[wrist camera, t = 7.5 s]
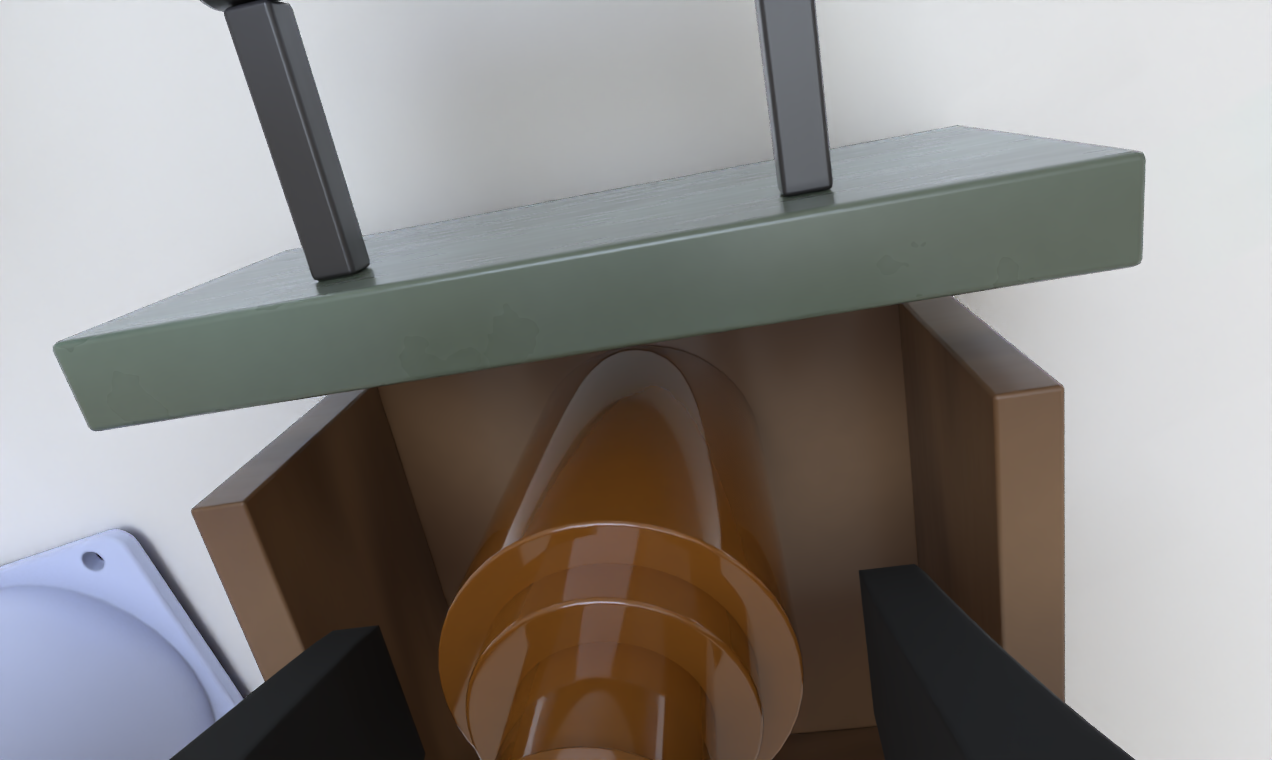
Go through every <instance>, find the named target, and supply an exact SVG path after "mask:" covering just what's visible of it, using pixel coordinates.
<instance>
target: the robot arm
mask: <svg viewBox="0 0 1272 760" xmlns="http://www.w3.org/2000/svg"><path fill="white" fill-rule="evenodd" d="M96 553H97V554H98V555H99V556H101V557H102V558H103V560H102V559H100V558H99V557H98V556H97V555H96ZM859 579H860V588H861V597H862V607H863V616H864V625H865V635H866V644H867V653H868V663H869V672H870V682H871V691H872V700H873V710H874V716H875V720H876V724H877V728H878V732H879V736H880V741H881V745H882V749H883V753H884V757H885V760H1135V759H1134V758H1132V757H1131V756H1130V755H1129V754H1127V753H1126V752H1125V751H1124V750H1122V749H1121V748H1120V747H1118V746H1117V745H1116V744H1115V743H1113V742H1112V741H1111V740H1110V739H1108V738H1107V737H1106V736H1105V735H1103V734H1102V733H1101V732H1100V731H1098V730H1097V729H1096V728H1094V727H1093V726H1092V725H1091V724H1090V723H1088V722H1087V721H1086V720H1085V719H1084V718H1082V717H1081V716H1080V715H1079V714H1078V713H1076V712H1075V711H1074V710H1073V709H1072V708H1070V707H1069V706H1068V705H1067V704H1066V703H1064V702H1063V701H1062V700H1061V699H1060V698H1059V697H1057V696H1056V695H1055V694H1054V693H1053V692H1052V691H1051V690H1049V689H1048V688H1047V687H1046V686H1045V685H1044V684H1043V683H1041V682H1040V681H1039V680H1038V679H1037V678H1036V677H1035V676H1033V675H1032V674H1031V673H1030V672H1029V671H1028V670H1027V669H1025V668H1024V667H1023V666H1022V665H1021V664H1020V663H1019V662H1017V661H1016V660H1015V659H1014V658H1013V657H1012V656H1011V655H1010V654H1009V653H1007V652H1006V651H1005V650H1004V649H1003V648H1002V647H1001V646H1000V645H999V644H998V643H997V642H996V641H994V640H993V639H992V638H991V637H990V636H989V635H988V634H987V633H986V632H985V631H984V630H983V629H982V628H981V627H980V626H979V625H978V624H977V623H976V622H974V621H973V620H972V619H971V618H970V617H969V616H968V615H967V614H966V613H965V612H964V611H963V610H962V609H961V608H960V607H959V606H958V605H957V604H956V603H955V602H954V601H953V600H952V599H951V598H950V597H949V596H948V595H947V594H946V593H945V592H944V591H943V590H942V589H941V588H940V587H939V586H938V585H937V584H936V583H935V582H934V581H933V580H932V579H931V578H930V576H929V575H928V574H927V573H926V572H925V571H923V570H922V569H921V568H919V567H918V566H917V565H915V564H909V565H900V566H892V567H883V568H874V569H866V570H859ZM425 754H426V753H425V751H424V748H423V745H422V742H421V740H420V737H419V734H418V731H417V729H416V726H415V723H414V720H413V718H412V715H411V712H410V709H409V706H408V704H407V701H406V698H405V695H404V693H403V690H402V687H401V684H400V682H399V679H398V676H397V673H396V671H395V668H394V665H393V662H392V660H391V657H390V654H389V651H388V649H387V646H386V643H385V640H384V638H383V635H382V632H381V629H380V627H379V625H377V626H368V627H359V628H351V629H342V630H333V631H332V632H330V633H329V634H327V635H326V636H324V637H323V638H321V639H320V640H319V641H317V642H316V643H314V644H313V645H312V646H310V647H309V648H308V649H306V650H305V651H304V652H302V653H301V654H300V655H298V656H297V657H296V658H294V659H293V660H292V661H291V662H289V663H288V664H287V665H286V666H284V667H283V668H282V669H280V670H279V671H278V672H277V673H275V674H274V675H273V676H272V677H271V678H269V679H268V680H267V681H266V682H264V683H263V684H262V685H261V686H259V687H258V688H257V689H256V690H254V691H253V692H252V693H251V694H250V695H248V696H247V697H246V698H245V699H244V698H243V697H242V695H241V694H240V692H239V691H238V690H237V688H236V687H235V685H234V684H233V682H232V681H231V679H230V678H229V676H228V675H227V673H226V672H225V670H224V669H223V667H222V666H221V664H220V663H219V661H218V660H217V658H216V657H215V655H214V654H213V652H212V651H211V649H210V648H209V646H208V645H207V643H206V642H205V640H204V639H203V637H202V636H201V634H200V633H199V631H198V630H197V628H196V627H195V625H194V624H193V622H192V621H191V619H190V618H189V616H188V615H187V613H186V612H185V610H184V609H183V607H182V606H181V604H180V603H179V601H178V600H177V598H176V597H175V595H174V594H173V592H172V591H171V590H170V588H169V587H168V585H167V584H166V582H165V581H164V579H163V578H162V576H161V575H160V573H159V572H158V570H157V569H156V567H155V566H154V564H153V563H152V561H151V560H150V558H149V557H148V555H147V554H146V552H145V551H144V549H143V548H142V546H141V545H140V543H139V542H138V540H137V539H136V538H135V537H134V536H133V535H131V534H130V533H128V532H126V531H124V530H119V529H111V530H107V531H104V532H101V533H98V534H95V535H92V536H89V537H86V538H83V539H80V540H77V541H74V542H71V543H68V544H65V545H62V546H59V547H56V548H53V549H50V550H47V551H44V552H42V553H39V554H36V555H33V556H30V557H27V558H24V559H21V560H18V561H15V562H12V563H9V564H6V565H3V566H0V760H424V758H425Z"/></svg>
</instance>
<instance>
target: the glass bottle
mask: <svg viewBox="0 0 1272 760" xmlns="http://www.w3.org/2000/svg"><path fill="white" fill-rule="evenodd" d="M438 668H439V674H440V681H441V687H442V691H443V694H444V697H445V700H446V703H447V706H448V708H449V710H450V712H451V715H452V717H453V719H454V721H455V723H456V724H457V726H458V727H459V729H460V731H461V732H462V734H463V735H464V737H465V738H466V740H467V741H468V742H469V743H470V744H471V746H472V747H473V748H474V749H475V750H476V752H477V754H478V756H479V758H480V760H773V759H774V757H775V756H776V755H777V754H778V752H779V751H780V750H781V749H782V747H783V745H784V744H785V742H786V740H787V739H788V737H789V735H790V734H791V732H792V729H793V727H794V724H795V722H796V719H797V717H798V714H799V711H800V706H801V702H802V697H803V691H804V667H803V658H802V651H801V646H800V641H799V635H798V630H797V625H796V620H795V614H794V609H793V604H792V598H791V593H790V588H789V583H788V577H787V572H786V567H785V562H784V556H783V551H782V546H781V541H780V535H779V530H778V525H777V520H776V514H775V509H774V504H773V499H772V493H771V488H770V483H769V478H768V472H767V467H766V462H765V457H764V451H763V446H762V441H761V436H760V431H759V427H758V424H757V420H756V418H755V415H754V413H753V411H752V408H751V406H750V405H749V403H748V401H747V400H746V398H745V396H744V395H743V393H742V392H741V391H740V390H739V389H738V387H737V386H736V385H735V384H734V383H733V382H732V381H731V380H730V379H729V378H728V377H727V376H726V375H725V374H724V373H723V372H721V371H720V370H718V369H717V368H716V367H714V366H713V365H711V364H710V363H708V362H706V361H704V360H702V359H700V358H698V357H696V356H694V355H691V354H688V353H686V352H683V351H680V350H675V349H671V348H667V347H658V346H632V347H625V348H619V349H616V350H612V351H608V352H605V353H603V354H600V355H598V356H595V357H593V358H591V359H589V360H588V361H586V362H584V363H582V364H581V365H579V366H578V367H577V368H575V369H574V370H573V371H571V372H570V373H569V374H568V375H567V376H566V377H565V378H564V379H563V380H562V381H561V382H560V383H559V384H558V385H557V386H556V388H555V389H554V391H553V392H552V393H551V395H550V396H549V398H548V400H547V402H546V404H545V406H544V407H543V410H542V412H541V414H540V416H539V418H538V420H537V422H536V424H535V426H534V429H533V431H532V433H531V435H530V437H529V439H528V441H527V443H526V446H525V448H524V450H523V452H522V454H521V456H520V458H519V460H518V462H517V465H516V467H515V469H514V471H513V473H512V475H511V477H510V479H509V482H508V484H507V486H506V488H505V490H504V492H503V494H502V496H501V498H500V501H499V503H498V505H497V507H496V509H495V511H494V513H493V515H492V517H491V520H490V522H489V524H488V526H487V528H486V530H485V532H484V534H483V537H482V539H481V541H480V543H479V545H478V547H477V549H476V551H475V553H474V556H473V558H472V560H471V562H470V564H469V566H468V568H467V570H466V573H465V575H464V577H463V579H462V581H461V583H460V585H459V587H458V589H457V592H456V594H455V596H454V598H453V600H452V602H451V604H450V606H449V609H448V611H447V614H446V617H445V620H444V623H443V625H442V629H441V634H440V640H439V646H438Z"/></svg>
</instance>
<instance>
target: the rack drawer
mask: <svg viewBox="0 0 1272 760" xmlns="http://www.w3.org/2000/svg"><path fill="white" fill-rule="evenodd" d="M200 1H201V2H202V3H204V4H205V5H207V6H208V7H210V8H212V9H214V10H217V11H222V12H224V16H225V19H226V22H227V25H228V28H229V31H230V34H231V37H232V40H233V43H234V46H235V49H236V52H237V55H238V57H239V60H240V63H241V66H242V69H243V72H244V75H245V78H246V81H247V84H248V87H249V90H250V93H251V96H252V99H253V102H254V105H255V108H256V111H257V114H258V117H259V120H260V123H261V126H262V129H263V132H264V135H265V138H266V141H267V144H268V147H269V150H270V153H271V156H272V159H273V162H274V165H275V168H276V171H277V174H278V177H279V180H280V183H281V186H282V189H283V192H284V194H285V197H286V200H287V203H288V206H289V209H290V212H291V215H292V218H293V221H294V224H295V227H296V230H297V233H298V236H299V239H300V242H301V245H302V248H297V249H291V250H287V251H284V252H281V253H279V254H276V255H274V256H271V257H269V258H266V259H264V260H261V261H259V262H256V263H254V264H251V265H249V266H246V267H244V268H241V269H239V270H236V271H234V272H231V273H229V274H226V275H224V276H221V277H219V278H216V279H214V280H211V281H209V282H206V283H204V284H201V285H199V286H196V287H194V288H191V289H189V290H186V291H184V292H181V293H179V294H176V295H174V296H171V297H169V298H166V299H163V300H161V301H158V302H156V303H153V304H151V305H148V306H146V307H143V308H141V309H138V310H136V311H133V312H131V313H128V314H126V315H123V316H121V317H118V318H116V319H113V320H111V321H108V322H106V323H103V324H101V325H98V326H96V327H93V328H91V329H88V330H86V331H83V332H81V333H78V334H76V335H73V336H71V337H68V338H66V339H63V340H61V341H58V342H57V343H56V344H55V345H54V346H53V352H54V354H55V356H56V358H57V360H58V362H59V365H60V367H61V369H62V371H63V373H64V375H65V377H66V380H67V382H68V384H69V386H70V388H71V390H72V392H73V395H74V397H75V399H76V401H77V403H78V405H79V407H80V410H81V412H82V414H83V416H84V418H85V420H86V422H87V425H88V427H89V428H90V429H91V430H92V431H103V430H109V429H115V428H122V427H128V426H134V425H140V424H147V423H153V422H159V421H166V420H172V419H178V418H185V417H191V416H197V415H203V414H210V413H216V412H222V411H229V410H235V409H241V408H247V407H254V406H260V405H266V404H273V403H279V402H285V401H292V400H298V399H304V398H310V397H317V396H323V395H327V396H326V397H325V398H324V399H323V400H321V401H320V402H319V403H318V404H317V405H315V406H314V407H313V408H312V409H311V410H309V411H308V412H307V413H306V414H305V415H303V416H302V417H301V418H300V419H299V420H297V421H296V422H295V423H294V424H293V425H291V426H290V427H289V428H288V429H287V430H285V431H284V432H283V433H282V434H281V435H280V436H278V437H277V438H276V439H275V440H274V441H272V442H271V443H270V444H269V445H268V446H266V447H265V448H264V449H263V450H262V451H260V452H259V453H258V454H257V455H256V456H254V457H253V458H252V459H251V460H250V461H248V462H247V463H246V464H245V465H244V466H243V467H241V468H240V469H239V470H238V471H237V472H235V473H234V474H233V475H232V476H231V477H229V478H228V479H227V480H226V481H225V482H223V483H222V484H221V485H220V486H219V487H217V488H216V489H215V490H214V491H213V492H211V493H210V494H209V495H208V496H207V497H206V498H204V499H203V500H202V501H201V502H200V503H198V504H197V505H196V506H195V507H194V508H192V510H191V513H192V515H193V518H194V520H195V522H196V525H197V527H198V529H199V532H200V534H201V536H202V538H203V541H204V543H205V545H206V548H207V550H208V552H209V555H210V557H211V559H212V561H213V564H214V566H215V568H216V571H217V573H218V575H219V578H220V580H221V582H222V584H223V587H224V589H225V591H226V594H227V596H228V598H229V600H230V603H231V605H232V607H233V610H234V612H235V614H236V617H237V619H238V621H239V623H240V626H241V628H242V630H243V633H244V635H245V637H246V640H247V642H248V644H249V646H250V649H251V651H252V653H253V656H254V658H255V660H256V663H257V665H258V667H259V669H260V672H261V674H262V676H263V679H264V681H265V682H266V681H267V680H268V679H269V678H271V677H272V676H273V675H274V674H275V673H277V672H278V671H279V670H280V669H282V668H283V667H284V666H286V665H287V664H288V663H289V662H291V661H292V660H293V659H294V658H296V657H297V656H298V655H300V654H301V653H302V652H304V651H305V650H306V649H308V648H309V647H310V646H312V645H313V644H314V643H316V642H317V641H319V640H320V639H321V638H323V637H324V636H326V635H327V634H329V633H330V632H332V631H333V630H342V629H351V628H359V627H368V626H377V625H379V627H380V629H381V632H382V635H383V638H384V640H385V643H386V646H387V649H388V651H389V654H390V657H391V660H392V662H393V665H394V668H395V671H396V673H397V676H398V679H399V682H400V684H401V687H402V690H403V693H404V695H405V698H406V701H407V704H408V706H409V709H410V712H411V715H412V718H413V720H414V723H415V726H416V729H417V731H418V734H419V737H420V740H421V742H422V745H423V748H424V751H425V753H426V754H425V758H424V760H480V758H479V756H478V754H477V752H476V750H475V749H474V748H473V747H472V746H471V744H470V743H469V742H468V741H467V740H466V738H465V737H464V735H463V734H462V732H461V731H460V729H459V727H458V726H457V724H456V723H455V721H454V719H453V717H452V715H451V712H450V710H449V708H448V706H447V703H446V700H445V697H444V694H443V691H442V687H441V681H440V674H439V668H438V646H439V640H440V634H441V629H442V625H443V623H444V620H445V617H446V614H447V611H448V609H449V606H450V604H451V602H452V600H453V598H454V596H455V594H456V592H457V589H458V587H459V585H460V583H461V581H462V579H463V577H464V575H465V573H466V570H467V568H468V566H469V564H470V562H471V560H472V558H473V556H474V553H475V551H476V549H477V547H478V545H479V543H480V541H481V539H482V537H483V534H484V532H485V530H486V528H487V526H488V524H489V522H490V520H491V517H492V515H493V513H494V511H495V509H496V507H497V505H498V503H499V501H500V498H501V496H502V494H503V492H504V490H505V488H506V486H507V484H508V482H509V479H510V477H511V475H512V473H513V471H514V469H515V467H516V465H517V462H518V460H519V458H520V456H521V454H522V452H523V450H524V448H525V446H526V443H527V441H528V439H529V437H530V435H531V433H532V431H533V429H534V426H535V424H536V422H537V420H538V418H539V416H540V414H541V412H542V410H543V407H544V406H545V404H546V402H547V400H548V398H549V396H550V395H551V393H552V392H553V391H554V389H555V388H556V386H557V385H558V384H559V383H560V382H561V381H562V380H563V379H564V378H565V377H566V376H567V375H568V374H569V373H570V372H571V371H573V370H574V369H575V368H577V367H578V366H579V365H581V364H582V363H584V362H586V361H588V360H589V359H591V358H593V357H595V356H598V355H600V354H603V353H605V352H608V351H612V350H616V349H619V348H625V347H632V346H658V347H667V348H671V349H675V350H680V351H683V352H686V353H688V354H691V355H694V356H696V357H698V358H700V359H702V360H704V361H706V362H708V363H710V364H711V365H713V366H714V367H716V368H717V369H718V370H720V371H721V372H723V373H724V374H725V375H726V376H727V377H728V378H729V379H730V380H731V381H732V382H733V383H734V384H735V385H736V386H737V387H738V389H739V390H740V391H741V392H742V393H743V395H744V396H745V398H746V400H747V401H748V403H749V405H750V406H751V408H752V411H753V413H754V415H755V418H756V420H757V424H758V427H759V431H760V436H761V441H762V446H763V451H764V457H765V462H766V467H767V472H768V478H769V483H770V488H771V493H772V499H773V504H774V509H775V514H776V520H777V525H778V530H779V535H780V541H781V546H782V551H783V556H784V562H785V567H786V572H787V577H788V583H789V588H790V593H791V598H792V604H793V609H794V614H795V620H796V625H797V630H798V635H799V641H800V646H801V651H802V658H803V667H804V691H803V697H802V702H801V706H800V711H799V714H798V717H797V719H796V722H795V724H794V727H793V729H792V732H791V734H790V735H789V737H788V739H787V740H786V742H785V744H784V745H783V747H782V749H781V750H780V751H779V752H778V754H777V755H776V756H775V757H774V759H773V760H885V757H884V753H883V749H882V745H881V741H880V736H879V732H878V728H877V724H876V720H875V716H874V710H873V700H872V691H871V682H870V672H869V663H868V653H867V644H866V635H865V625H864V616H863V607H862V597H861V588H860V579H859V570H866V569H874V568H883V567H892V566H900V565H909V564H915V565H917V566H918V567H919V568H921V569H922V570H923V571H925V572H926V573H927V574H928V575H929V576H930V578H931V579H932V580H933V581H934V582H935V583H936V584H937V585H938V586H939V587H940V588H941V589H942V590H943V591H944V592H945V593H946V594H947V595H948V596H949V597H950V598H951V599H952V600H953V601H954V602H955V603H956V604H957V605H958V606H959V607H960V608H961V609H962V610H963V611H964V612H965V613H966V614H967V615H968V616H969V617H970V618H971V619H972V620H973V621H974V622H976V623H977V624H978V625H979V626H980V627H981V628H982V629H983V630H984V631H985V632H986V633H987V634H988V635H989V636H990V637H991V638H992V639H993V640H994V641H996V642H997V643H998V644H999V645H1000V646H1001V647H1002V648H1003V649H1004V650H1005V651H1006V652H1007V653H1009V654H1010V655H1011V656H1012V657H1013V658H1014V659H1015V660H1016V661H1017V662H1019V663H1020V664H1021V665H1022V666H1023V667H1024V668H1025V669H1027V670H1028V671H1029V672H1030V673H1031V674H1032V675H1033V676H1035V677H1036V678H1037V679H1038V680H1039V681H1040V682H1041V683H1043V684H1044V685H1045V686H1046V687H1047V688H1048V689H1049V690H1051V691H1052V692H1053V693H1054V694H1055V695H1056V696H1057V697H1059V698H1060V699H1061V700H1062V701H1063V702H1064V703H1065V525H1064V387H1063V385H1061V384H1060V383H1059V382H1058V381H1056V380H1055V379H1054V378H1053V377H1052V376H1050V375H1049V374H1048V373H1047V372H1045V371H1044V370H1043V369H1042V368H1040V367H1039V366H1038V365H1037V364H1035V363H1034V362H1033V361H1032V360H1031V359H1029V358H1028V357H1027V356H1026V355H1024V354H1023V353H1022V352H1021V351H1019V350H1018V349H1017V348H1016V347H1014V346H1013V345H1012V344H1011V343H1009V342H1008V341H1007V340H1006V339H1004V338H1003V337H1002V336H1001V335H1000V334H998V333H997V332H996V331H995V330H993V329H992V328H991V327H990V326H988V325H987V324H986V323H985V322H983V321H982V320H981V319H980V318H978V317H977V316H976V315H975V314H974V313H972V312H971V311H970V310H969V309H967V308H966V307H965V306H964V305H962V304H961V303H960V302H959V301H957V300H956V299H955V298H954V297H952V296H953V295H959V294H965V293H971V292H978V291H984V290H990V289H997V288H1003V287H1009V286H1016V285H1022V284H1028V283H1034V282H1041V281H1047V280H1053V279H1060V278H1066V277H1072V276H1078V275H1085V274H1091V273H1097V272H1104V271H1110V270H1116V269H1123V268H1129V267H1133V266H1136V265H1138V264H1140V263H1141V260H1142V250H1143V219H1144V189H1145V156H1144V154H1143V152H1140V151H1135V150H1128V149H1121V148H1114V147H1107V146H1100V145H1093V144H1086V143H1079V142H1072V141H1065V140H1058V139H1051V138H1043V137H1036V136H1029V135H1022V134H1015V133H1008V132H1001V131H994V130H987V129H980V128H973V127H966V126H959V125H957V126H951V127H946V128H941V129H935V130H930V131H925V132H919V133H914V134H909V135H903V136H898V137H892V138H887V139H882V140H876V141H871V142H866V143H860V144H855V145H850V146H844V147H839V148H833V149H830V146H829V136H828V126H827V116H826V106H825V96H824V86H823V76H822V66H821V56H820V46H819V36H818V26H817V16H816V6H815V0H755V7H756V15H757V23H758V31H759V39H760V48H761V56H762V64H763V72H764V80H765V88H766V96H767V104H768V112H769V120H770V128H771V136H772V144H773V153H774V160H769V161H764V162H758V163H753V164H748V165H742V166H737V167H731V168H726V169H721V170H715V171H710V172H705V173H699V174H694V175H689V176H683V177H678V178H672V179H667V180H662V181H656V182H651V183H646V184H640V185H635V186H629V187H624V188H619V189H613V190H608V191H603V192H597V193H592V194H587V195H581V196H576V197H570V198H565V199H560V200H554V201H549V202H544V203H538V204H533V205H528V206H522V207H517V208H511V209H506V210H501V211H495V212H490V213H485V214H479V215H474V216H468V217H463V218H458V219H452V220H447V221H442V222H436V223H431V224H426V225H420V226H415V227H409V228H404V229H399V230H393V231H388V232H383V233H377V234H372V235H367V236H362V233H361V230H360V227H359V224H358V220H357V217H356V214H355V211H354V207H353V204H352V201H351V198H350V194H349V191H348V188H347V185H346V181H345V178H344V175H343V172H342V168H341V165H340V162H339V159H338V155H337V152H336V149H335V146H334V142H333V139H332V136H331V133H330V129H329V126H328V123H327V120H326V116H325V113H324V110H323V107H322V103H321V100H320V97H319V94H318V90H317V87H316V84H315V81H314V77H313V74H312V71H311V68H310V64H309V61H308V58H307V55H306V51H305V48H304V45H303V42H302V38H301V35H300V32H299V29H298V25H297V22H296V19H295V16H294V12H293V9H292V7H291V6H290V4H288V3H283V2H278V1H281V0H200Z"/></svg>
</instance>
